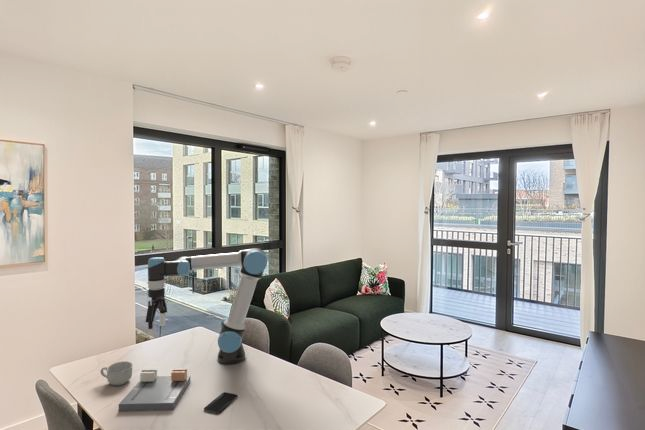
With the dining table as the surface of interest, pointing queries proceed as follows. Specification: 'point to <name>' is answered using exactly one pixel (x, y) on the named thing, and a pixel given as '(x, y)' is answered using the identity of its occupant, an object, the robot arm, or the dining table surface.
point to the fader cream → (148, 375)
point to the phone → (220, 403)
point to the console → (154, 395)
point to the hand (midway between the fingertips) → (157, 330)
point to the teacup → (118, 373)
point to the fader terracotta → (179, 374)
